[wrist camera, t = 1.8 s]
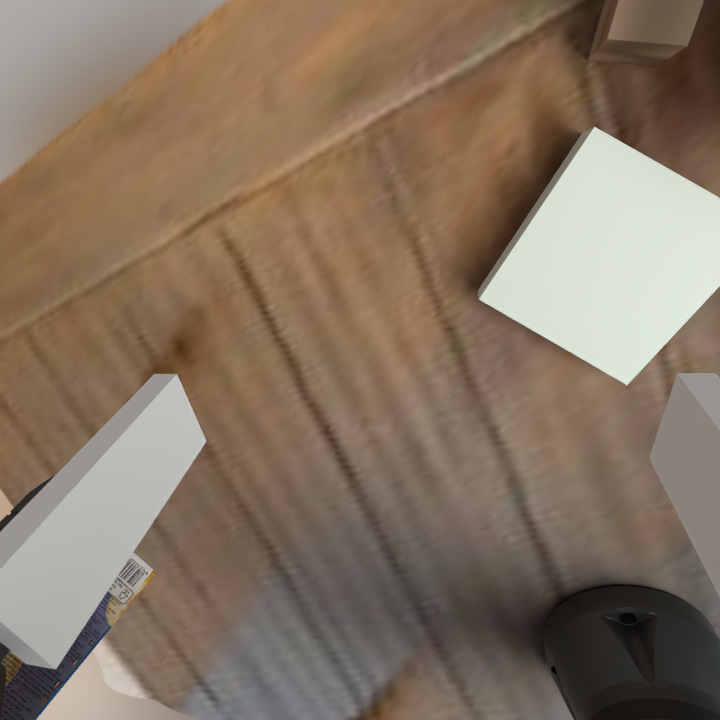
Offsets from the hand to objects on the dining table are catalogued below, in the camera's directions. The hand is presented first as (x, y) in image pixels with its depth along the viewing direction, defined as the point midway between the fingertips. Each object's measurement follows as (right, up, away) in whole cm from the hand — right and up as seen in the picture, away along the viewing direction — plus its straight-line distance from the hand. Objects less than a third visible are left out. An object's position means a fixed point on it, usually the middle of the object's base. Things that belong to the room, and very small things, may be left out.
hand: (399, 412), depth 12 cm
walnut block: (+15, +22, +14) cm, 30 cm away
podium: (+16, +8, +18) cm, 26 cm away
